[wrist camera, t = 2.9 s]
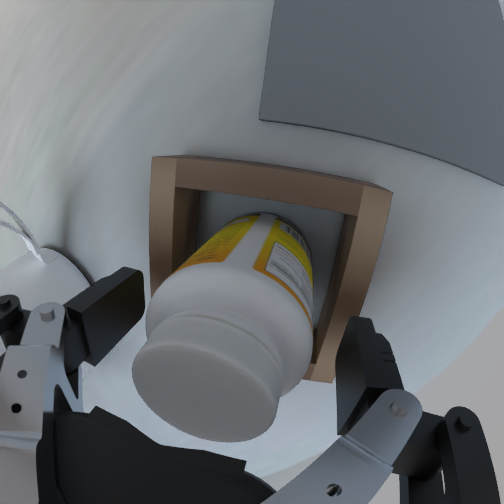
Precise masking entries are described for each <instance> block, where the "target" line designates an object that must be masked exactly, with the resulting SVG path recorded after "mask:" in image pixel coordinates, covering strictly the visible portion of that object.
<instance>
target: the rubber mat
mask: <svg viewBox="0 0 504 504" xmlns="http://www.w3.org/2000/svg"><path fill="white" fill-rule="evenodd" d="M259 120H261V121H270V122H279V123H286V124H293V125H300V126H306V127H313V128H318V129H324V130H329V131H335V132H340V133H344V134H349V135H354V136H358V137H362V138H367V139H371V140H375V141H379V142H383V143H386V144H390V145H394V146H397V147H401V148H404V149H408V150H411V151H414V152H417V153H420V154H424V155H427V156H430V157H433V158H436V159H438V160H441V161H444V162H447V163H450V164H452V165H455V166H457V167H460V168H463V169H465V170H468V171H470V172H473V173H475V174H477V175H480V176H482V177H484V178H487V179H489V180H491V181H493V182H495V183H498V184H500V185H502V186H504V20H503V16H502V12H501V8H500V5H499V1H498V0H275V2H274V9H273V16H272V23H271V30H270V37H269V44H268V52H267V59H266V66H265V74H264V81H263V89H262V96H261V104H260V112H259Z"/></svg>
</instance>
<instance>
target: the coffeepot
mask: <svg viewBox="0 0 504 504" xmlns="http://www.w3.org/2000/svg"><path fill="white" fill-rule="evenodd" d="M0 206H1V207H2V208H3V209H4V210H5V211H6V212H7V213H8V214H9V215H10V216H11V217H12V218H13V219H14V221H15V222H16V223H17V224H18V226H19V227H20V229H21V230H22V232H23V233H22V232H21V231H20V230H18V229H17V228H15V227H14V226H12V225H11V224H9V223H8V222H6V221H4V220H2V219H0V225H2V226H4V227H7V228H9V229H11V230H13V231H15V232H17V233H19V234H20V235H21V236H22V237H23V239H24V240H25V242H26V245H27V247H28V249H29V250H31V251H30V252H28V253H27V254H25V255H24V256H22V257H20V258H19V259H17V260H16V261H14V262H13V263H11V264H9V265H8V266H6V267H5V268H3V269H2V270H0V296H3V295H8V294H12V295H16V296H17V297H18V298H19V300H20V303H21V307H22V309H25V310H30V311H32V310H33V309H34V308H35V307H37V306H38V305H40V304H43V303H48V302H55V303H59V304H61V305H63V304H65V303H66V302H68V301H69V300H70V299H72V298H73V297H75V296H76V295H78V294H79V293H80V292H82V291H83V290H84V291H85V289H86V288H88V287H89V286H90V284H89V283H88V281H87V280H86V278H85V277H84V276H83V274H82V273H81V272H80V271H79V270H78V268H77V267H76V266H75V265H74V264H73V263H72V262H71V261H70V260H68V259H67V258H66V257H65V256H63V255H62V254H60V253H58V252H56V251H54V250H51V249H48V248H39V247H38V245H37V243H36V241H35V239H34V237H33V235H32V234H31V232H30V231H29V229H28V228H27V226H26V225H25V224H24V223H23V222H22V220H21V219H20V218H19V217H18V216H17V215H16V214H15V213H14V212H13V211H12V210H10V209H9V208H8V207H7V206H5V205H4V204H2V203H1V202H0ZM4 352H6V348H5V346H4V344H3V341H2V339H1V336H0V356H1V355H2V354H3V353H4ZM80 365H81V368H82V377H83V376H84V375H85V374H86V373H87V372H88V371H89V370H90V369H92V368H93V367H94V366H93V365H91V364H89V363H87V362H85V361H83V362H82V363H81V364H80Z"/></svg>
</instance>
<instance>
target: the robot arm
mask: <svg viewBox="0 0 504 504" xmlns="http://www.w3.org/2000/svg"><path fill="white" fill-rule="evenodd" d="M144 310H145V296H144V278H143V273H142V272H141V271H140V270H136V269H132V268H128V267H122V268H121V269H119V270H118V271H116V272H115V273H113V274H112V275H110V276H108V277H105V278H102V279H100V280H98V281H97V282H95V283H94V284H92V286H89V287H88V288H86V289H85V291H84V290H83V291H82V292H80V293H79V294H78V295H76V296H75V297H73V298H72V299H70V300H69V301H68V302H66V303H65V304H63V305H61V304H59V303H55V302H48V303H43V304H40V305H38V306H37V307H35V308H34V309H33V310H32V311H30V310H25V309H22V307H21V303H20V300H19V298H18V297H17V296H16V295H12V294H8V295H3V296H0V336H1V339H2V341H3V344H4V346H5V348H6V352H4V353H3V354H2V355H1V356H0V504H368V503H369V502H370V501H371V499H372V498H373V497H374V496H375V494H376V493H377V492H378V490H379V489H380V488H381V486H382V485H383V484H384V482H385V481H386V480H387V478H388V477H389V475H390V474H391V473H395V474H399V480H400V504H501V503H500V497H499V491H498V486H497V481H496V477H495V472H494V468H493V464H492V460H491V457H490V452H489V449H488V446H487V442H486V439H485V436H484V433H483V430H482V427H481V424H480V421H479V419H478V417H477V416H476V415H475V414H474V413H473V412H472V411H471V410H469V409H467V408H465V407H460V406H458V407H453V408H451V409H450V410H449V411H448V412H447V414H446V415H445V416H444V417H442V416H438V415H434V414H430V413H427V412H424V411H422V406H421V404H420V402H419V400H418V399H417V398H416V397H415V396H414V395H413V394H411V393H409V392H407V391H405V390H404V387H403V384H402V380H401V377H400V374H399V371H398V367H397V364H396V363H395V358H394V355H393V352H392V349H391V346H390V343H389V342H388V341H387V339H386V338H385V337H384V336H383V335H382V334H379V333H376V332H375V329H374V326H373V323H372V320H371V319H370V318H364V317H357V316H350V318H349V320H348V323H347V325H346V328H345V331H344V334H343V337H342V339H341V342H340V345H339V347H338V350H337V354H336V359H335V374H336V396H337V435H342V436H341V437H340V438H339V439H338V440H336V441H335V442H334V443H333V444H332V445H331V446H330V447H329V448H328V449H327V450H326V451H325V452H324V453H323V454H322V455H321V456H320V457H319V458H317V459H316V460H315V461H314V462H313V463H312V464H311V465H310V466H308V467H307V468H306V469H305V470H304V471H303V472H301V473H300V474H299V475H298V476H297V477H296V478H294V479H293V480H292V481H290V482H289V483H288V484H286V485H285V486H284V487H283V488H281V489H280V490H279V491H276V490H274V489H273V488H272V487H271V486H270V485H269V484H267V483H266V482H264V481H263V480H262V479H260V478H258V477H256V476H255V475H253V474H251V473H249V472H246V471H244V469H245V465H246V462H247V461H245V460H240V459H236V458H232V457H227V456H224V455H220V454H216V453H212V452H209V451H205V450H196V449H187V448H178V447H171V446H164V445H160V444H158V443H156V442H155V441H153V440H152V439H150V438H149V437H147V436H146V435H145V434H143V433H142V432H141V431H139V430H138V429H137V428H135V427H134V426H133V425H131V424H130V423H129V422H127V421H126V420H124V419H121V418H119V417H117V416H115V415H113V414H111V413H109V412H107V411H105V410H103V409H101V408H100V407H98V406H95V407H94V408H93V410H92V411H91V412H90V414H89V413H84V411H83V399H82V368H81V365H80V364H81V363H82V362H83V361H85V362H87V363H89V364H91V365H93V366H96V365H97V364H98V363H99V362H100V361H101V360H102V359H103V358H104V357H105V356H106V355H107V354H108V353H109V351H110V350H111V349H112V348H113V347H114V346H115V345H116V344H117V343H118V342H119V341H120V340H121V339H122V338H123V337H124V336H125V335H126V334H127V333H128V332H129V331H130V330H131V328H132V327H133V326H134V325H135V324H136V323H137V322H138V321H139V320H140V319H141V318H142V316H143V314H144ZM442 470H443V474H444V482H445V494H444V489H443V481H442V474H441V471H442Z"/></svg>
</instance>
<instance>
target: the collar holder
mask: <svg viewBox="0 0 504 504" xmlns="http://www.w3.org/2000/svg"><path fill="white" fill-rule="evenodd" d="M200 190H206V191H214V192H221V193H228V194H235V195H242V196H249V197H256V198H262V199H268V200H274V201H280V202H286V203H292V204H298V205H303V206H309V207H314V208H320V209H325V210H330V211H335V212H340V213H345V219H344V223H343V228H342V233H341V237H340V242H339V246H338V251H337V255H336V259H335V263H334V267H333V271H332V275H331V279H330V283H329V287H328V291H327V294H326V298H325V302H324V305H323V309H322V312H321V316H320V319H319V323H318V326H317V330H313V348H312V357H311V361H310V364H309V367H308V369H307V371H306V373H305V375H304V376H303V378H302V379H304V380H311V381H318V382H325V383H332V382H333V380H334V378H335V375H336V374H335V359H336V354H337V350H338V347H339V345H340V342H341V339H342V337H343V334H344V331H345V328H346V325H347V323H348V320H349V318H350V316H357V317H359V315H360V312H361V309H362V306H363V303H364V300H365V297H366V294H367V291H368V288H369V284H370V281H371V278H372V275H373V271H374V268H375V264H376V261H377V257H378V254H379V250H380V246H381V242H382V239H383V235H384V231H385V226H386V222H387V218H388V213H389V209H390V204H391V199H392V195H393V192H391V191H389V190H387V189H385V188H383V187H380V186H378V185H376V184H372V183H368V182H364V181H359V180H355V179H350V178H345V177H341V176H336V175H331V174H325V173H320V172H315V171H309V170H303V169H297V168H291V167H285V166H278V165H271V164H264V163H257V162H249V161H241V160H232V159H222V158H212V157H201V156H188V155H173V156H157V157H152V166H151V184H150V212H149V256H150V285H151V299H152V296H153V295H154V293H155V291H156V290H157V289H158V288H159V287H160V286H161V284H162V283H163V282H164V281H165V280H166V279H167V278H168V277H169V276H170V275H171V274H172V273H174V272H175V271H176V270H177V269H178V268H179V267H180V266H181V265H182V264H183V263H184V262H186V261H187V260H188V259H189V258H190V257H191V256H192V255H193V254H194V253H195V252H196V240H197V223H198V209H199V196H200Z"/></svg>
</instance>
